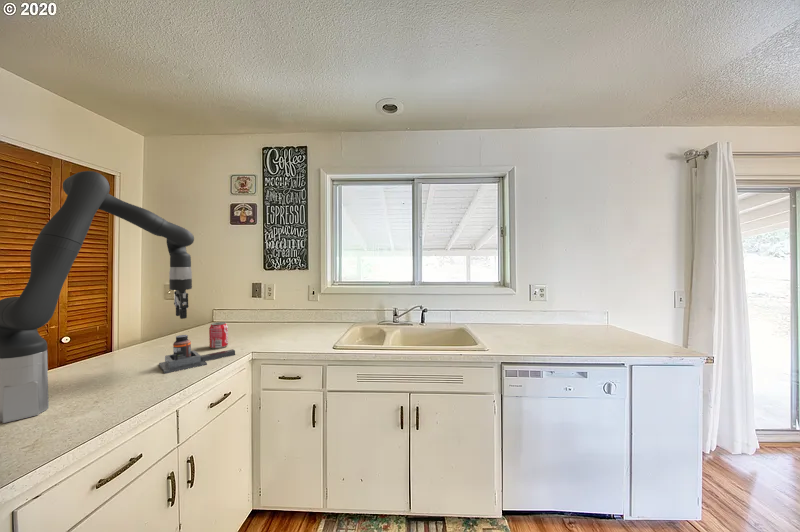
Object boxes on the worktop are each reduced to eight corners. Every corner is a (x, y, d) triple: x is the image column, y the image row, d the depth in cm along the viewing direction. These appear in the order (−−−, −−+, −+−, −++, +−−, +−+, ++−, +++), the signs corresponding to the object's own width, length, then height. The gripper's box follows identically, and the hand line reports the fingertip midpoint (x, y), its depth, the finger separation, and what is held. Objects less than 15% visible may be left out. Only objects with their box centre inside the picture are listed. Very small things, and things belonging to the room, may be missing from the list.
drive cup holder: (239, 357, 134) (239, 349, 134) (164, 373, 115) (164, 363, 115) (229, 351, 144) (229, 343, 144) (158, 364, 125) (158, 355, 125)
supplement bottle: (189, 359, 129) (189, 333, 129) (192, 362, 125) (192, 335, 125) (172, 362, 125) (171, 335, 125) (175, 366, 121) (174, 338, 121)
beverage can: (224, 343, 156) (223, 321, 156) (230, 346, 151) (230, 323, 151) (206, 347, 150) (206, 323, 149) (213, 350, 145) (213, 325, 145)
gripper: (166, 277, 126) (166, 316, 127) (172, 279, 116) (173, 320, 117) (187, 277, 132) (188, 313, 132) (195, 278, 122) (195, 318, 122)
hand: (181, 317), depth 124 cm, fingers open, 8 cm apart
